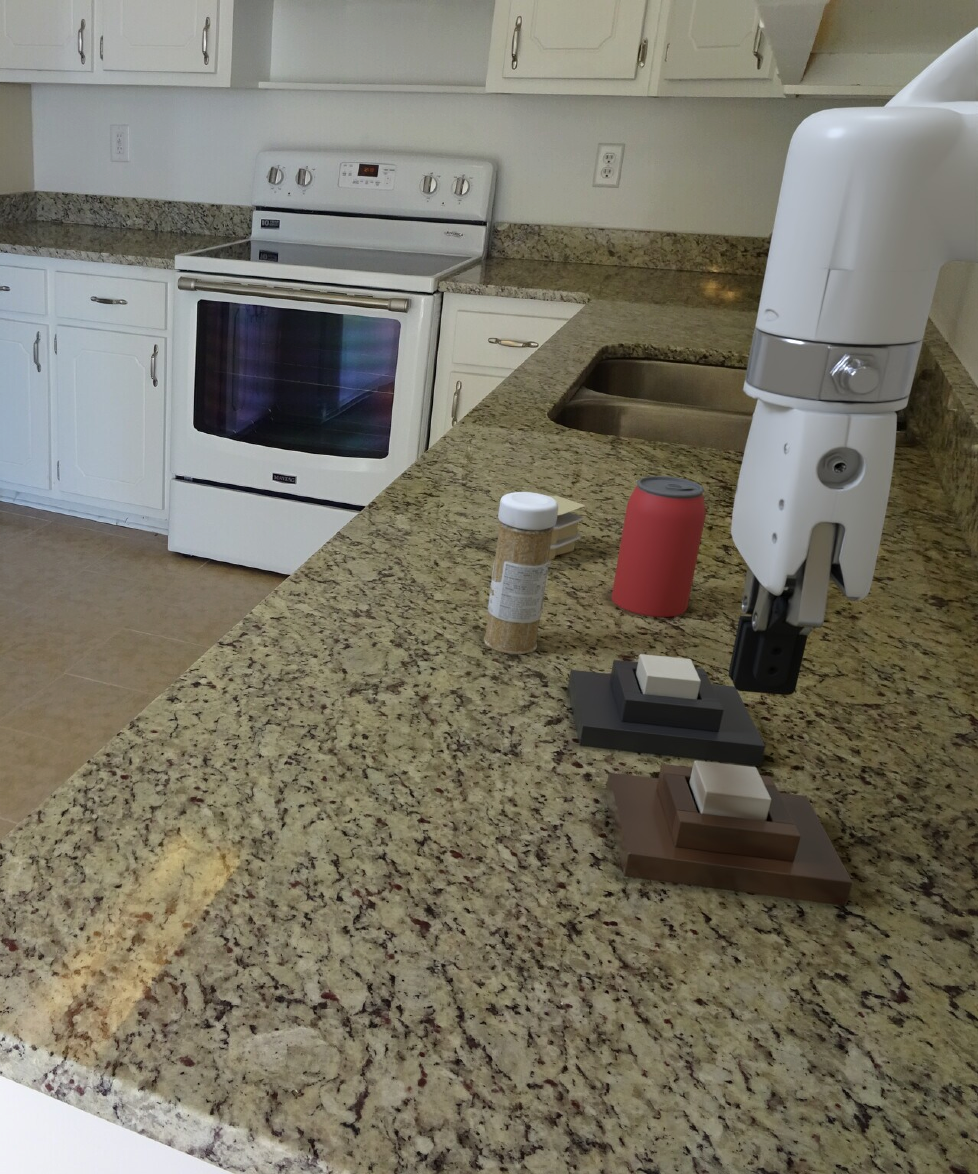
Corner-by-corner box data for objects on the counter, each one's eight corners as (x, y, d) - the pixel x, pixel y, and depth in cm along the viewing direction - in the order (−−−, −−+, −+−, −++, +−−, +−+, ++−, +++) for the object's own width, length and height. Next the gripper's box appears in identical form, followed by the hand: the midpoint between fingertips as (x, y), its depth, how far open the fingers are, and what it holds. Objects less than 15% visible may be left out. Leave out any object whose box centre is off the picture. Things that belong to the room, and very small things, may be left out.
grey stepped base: (729, 711, 85) (740, 665, 83) (759, 773, 77) (771, 723, 75) (566, 694, 87) (573, 648, 86) (578, 752, 79) (586, 703, 78)
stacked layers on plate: (537, 534, 122) (544, 486, 120) (605, 559, 115) (613, 509, 113) (472, 550, 117) (478, 500, 115) (538, 578, 110) (546, 525, 108)
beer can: (693, 625, 100) (719, 498, 95) (617, 620, 101) (639, 493, 96) (676, 597, 106) (700, 476, 101) (604, 592, 107) (624, 472, 102)
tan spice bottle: (487, 633, 98) (505, 487, 92) (540, 643, 96) (562, 494, 91) (477, 654, 94) (496, 502, 89) (533, 664, 92) (555, 510, 87)
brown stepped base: (799, 824, 71) (813, 771, 70) (844, 914, 63) (861, 856, 62) (603, 800, 74) (613, 748, 72) (622, 884, 65) (633, 827, 64)
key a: (750, 791, 68) (756, 766, 68) (765, 824, 65) (772, 799, 64) (688, 783, 69) (693, 759, 68) (700, 816, 66) (706, 791, 65)
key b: (686, 679, 82) (691, 658, 81) (696, 702, 79) (701, 680, 78) (635, 674, 83) (639, 653, 82) (643, 697, 79) (647, 675, 79)
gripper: (971, 406, 49) (876, 761, 57) (860, 344, 63) (794, 637, 70) (789, 399, 51) (718, 746, 58) (718, 340, 64) (668, 627, 71)
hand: (760, 686), depth 64 cm, fingers closed
